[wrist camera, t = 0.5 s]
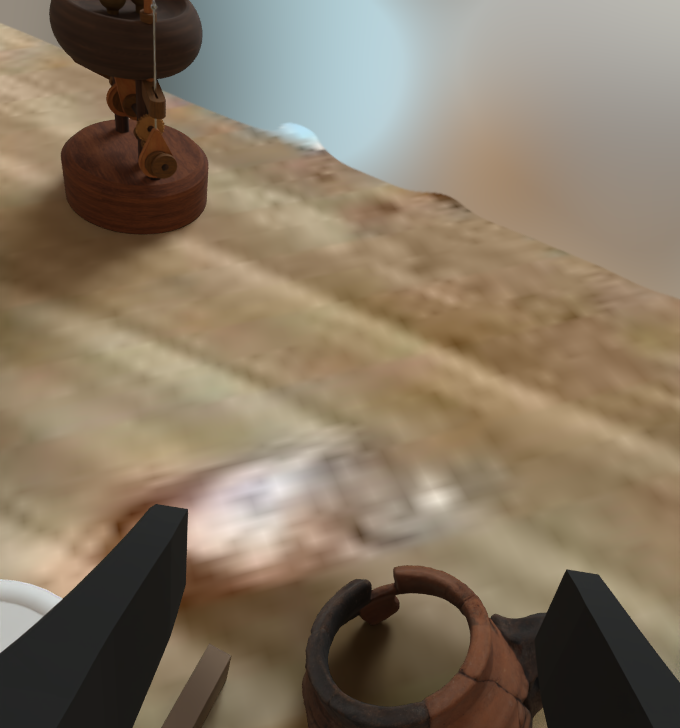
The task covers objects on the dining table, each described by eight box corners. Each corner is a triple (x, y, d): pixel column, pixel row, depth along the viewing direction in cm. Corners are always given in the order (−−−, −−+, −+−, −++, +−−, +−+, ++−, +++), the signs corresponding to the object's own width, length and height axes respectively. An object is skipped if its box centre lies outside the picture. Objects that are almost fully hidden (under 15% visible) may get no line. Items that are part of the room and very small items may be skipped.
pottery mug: (377, 933, 23) (326, 806, 19) (305, 712, 31) (260, 594, 28) (650, 780, 25) (650, 641, 22) (517, 612, 34) (501, 491, 30)
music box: (250, 222, 50) (258, -74, 34) (119, 272, 44) (60, -53, 29) (151, 128, 56) (122, -157, 41) (27, 161, 51) (-60, -151, 36)
